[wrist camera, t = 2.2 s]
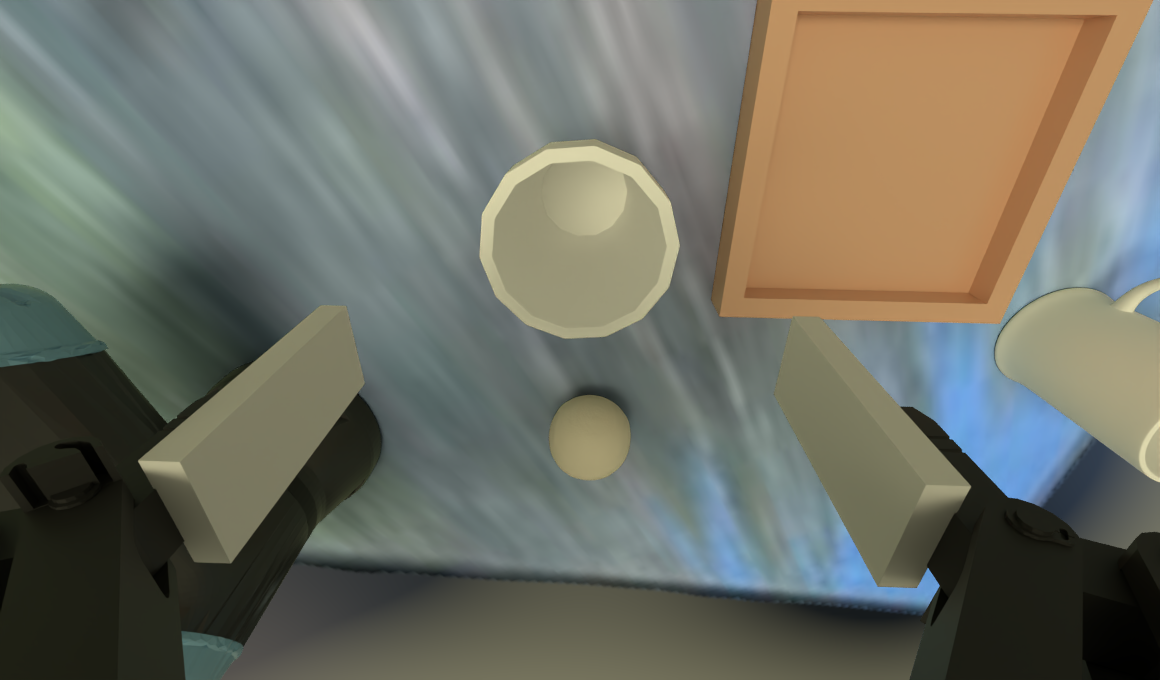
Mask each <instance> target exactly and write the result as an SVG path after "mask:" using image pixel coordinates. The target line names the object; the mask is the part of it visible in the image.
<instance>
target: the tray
mask: <svg viewBox="0 0 1160 680" xmlns="http://www.w3.org/2000/svg"><path fill="white" fill-rule="evenodd" d="M1152 2H1153V0H757V5H756V12H755V18H754V25H753V31H752V38H751V44H750V51H749V57H748V64H747V70H746V76H745V83H744V89H743V96H742V102H741V109H740V115H739V122H738V128H737V135H736V141H735V148H734V154H733V161H732V167H731V174H730V180H729V187H728V193H727V199H726V206H725V212H724V219H723V225H722V232H721V238H720V245H719V251H718V258H717V264H716V271H715V277H714V284H713V290H712V297H711V301H712V303H713V305H714V307H715V309H716V311H717V313H718V315H719V317H753V318H792V317H793V316H805V317H820V318H821V319H833V320H873V321H913V322H953V323H993V324H1000V322H1001V320H1002V318H1003V316H1004V314H1005V312H1006V310H1007V308H1008V305H1009V303H1010V301H1011V299H1012V297H1013V295H1014V293H1015V291H1016V289H1017V286H1018V284H1019V282H1020V280H1021V278H1022V276H1023V274H1024V272H1025V270H1026V268H1027V265H1028V263H1029V261H1030V259H1031V257H1032V255H1033V253H1034V251H1035V249H1036V246H1037V244H1038V242H1039V240H1040V238H1041V236H1042V234H1043V232H1044V230H1045V227H1046V225H1047V223H1048V221H1049V219H1050V217H1051V215H1052V213H1053V211H1054V208H1055V206H1056V204H1057V202H1058V200H1059V198H1060V196H1061V194H1062V192H1063V190H1064V187H1065V185H1066V183H1067V181H1068V179H1069V177H1070V175H1071V173H1072V171H1073V168H1074V166H1075V164H1076V162H1077V160H1078V158H1079V156H1080V154H1081V152H1082V149H1083V147H1084V145H1085V143H1086V141H1087V139H1088V137H1089V135H1090V133H1091V130H1092V128H1093V126H1094V124H1095V122H1096V120H1097V118H1098V116H1099V114H1100V112H1101V109H1102V107H1103V105H1104V103H1105V101H1106V99H1107V97H1108V95H1109V93H1110V90H1111V88H1112V86H1113V84H1114V82H1115V80H1116V78H1117V76H1118V74H1119V71H1120V69H1121V67H1122V65H1123V63H1124V61H1125V59H1126V57H1127V55H1128V53H1129V50H1130V48H1131V46H1132V44H1133V42H1134V40H1135V38H1136V36H1137V34H1138V31H1139V29H1140V27H1141V25H1142V23H1143V21H1144V19H1145V17H1146V15H1147V12H1148V10H1149V8H1150V6H1151V4H1152Z"/></svg>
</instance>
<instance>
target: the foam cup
mask: <svg viewBox="0 0 1160 680" xmlns="http://www.w3.org/2000/svg"><path fill="white" fill-rule="evenodd" d="M679 247H680V244H679V239H678V235H677V230H676V225H675V221H674V216H673V211H672V207H671V202H670V200H669V198H668V197H667V195H666V193H665V191H664V190H663V189H662V187H661V186H660V185H659V184H658V182H657V181H656V180H655V179H654V178H653V176H652V175H651V174H650V173H649V171H648V170H647V169H646V168H645V167H644V165H643V164H642V163H641V162H640V160H639V159H638V158H637V157H636V156H633V155H631V154H629V153H626V152H624V151H622V150H619V149H617V148H615V147H612V146H610V145H608V144H606V143H603V142H601V141H599V140H596V139H590V140H577V141H563V142H550V143H549V144H547V145H546V146H544V147H542V148H541V149H539V150H537V151H536V152H534V153H533V154H531V155H529V156H528V157H526V158H525V159H523V160H521V161H520V162H518V163H517V164H515V165H513V166H512V168H511V169H510V170H509V171H508V172H507V173H506V174H505V176H504V178H503V179H502V181H501V183H500V184H499V186H498V188H497V190H496V191H495V193H494V195H493V196H492V198H491V200H490V201H489V203H488V205H487V207H486V208H485V210H484V212H483V213H482V224H481V242H480V260H481V262H482V265H483V267H484V269H485V272H486V274H487V277H488V279H489V281H490V284H491V286H492V289H493V291H494V293H495V296H496V297H497V298H498V299H499V300H500V301H501V302H502V303H503V304H504V305H505V306H507V307H508V308H509V309H510V310H511V311H512V312H513V313H514V314H515V315H516V316H517V317H518V318H519V319H521V320H522V321H523V322H524V323H525V324H526V325H528V326H531V327H534V328H537V329H539V330H542V331H545V332H548V333H550V334H553V335H556V336H559V337H561V338H564V339H568V338H588V337H606V336H608V335H610V334H612V333H614V332H616V331H618V330H620V329H622V328H624V327H626V326H629V325H631V324H633V323H635V322H637V321H639V320H641V319H643V317H644V316H645V315H646V314H647V313H648V311H649V310H650V309H651V308H652V307H653V306H654V304H655V303H656V302H657V301H658V300H659V298H660V297H661V296H662V295H663V294H664V292H665V291H666V290H667V289H668V288H669V285H670V282H671V278H672V274H673V270H674V266H675V262H676V259H677V255H678V251H679Z"/></svg>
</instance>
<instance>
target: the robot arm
mask: <svg viewBox="0 0 1160 680" xmlns="http://www.w3.org/2000/svg"><path fill="white" fill-rule="evenodd" d="M105 349H108V347H107V345H106V344H105V343H104V342H102V341H98V340H96V339H95V338H94V337H93V336H92V335H91V334H90V333H89V332H88V331H87V330H86V329H85V328H84V327H83V326H82V325H81V324H80V323H79V322H78V321H77V320H76V319H75V318H74V317H73V316H72V315H71V314H70V313H69V312H68V311H67V310H66V309H65V308H64V307H63V306H62V305H61V303H60V302H59V301H57V300H56V299H55V298H54V297H53V296H51V295H49V294H48V293H46V292H44V291H42V290H39V289H37V288H34V287H30V286H26V285H19V284H0V680H220V679H221V678H222V676H223V675H224V673H225V672H226V671H227V669H228V668H229V666H230V665H231V663H232V662H233V661H234V660H236V659H237V658H238V657H239V656H240V655H241V653H242V650H243V647H244V645H245V643H246V642H247V640H248V638H249V637H250V635H251V633H252V632H253V630H254V628H255V626H256V625H257V623H258V621H259V620H260V618H261V616H262V615H263V613H264V611H265V610H266V608H267V606H268V605H269V603H270V601H271V600H272V598H273V596H274V595H275V593H276V591H277V589H278V588H279V586H280V585H281V583H282V581H283V580H284V578H285V576H286V575H287V573H288V571H289V569H290V568H291V566H292V564H293V563H294V561H295V559H296V558H297V556H298V554H299V553H300V551H301V549H302V548H303V546H304V544H305V543H306V541H307V539H308V538H309V536H310V535H311V533H312V531H313V530H314V528H315V527H316V525H317V524H318V523H319V522H320V521H322V520H323V519H324V518H325V517H326V516H327V515H328V514H329V513H330V512H332V511H333V510H334V509H335V508H336V507H337V506H338V505H339V504H340V503H341V502H343V501H344V500H346V499H347V498H349V497H350V496H351V495H353V494H354V493H355V492H357V491H358V490H359V489H360V488H361V487H362V486H363V484H364V483H365V482H366V481H367V479H368V477H369V476H370V474H371V472H372V470H373V468H374V467H375V465H376V463H377V461H378V459H379V456H380V452H381V435H380V430H379V427H378V424H377V422H376V420H375V417H374V416H373V414H372V412H371V411H370V409H369V408H368V406H367V405H366V404H365V402H364V401H363V400H362V399H361V398H360V397H359V396H358V395H357V393H358V392H359V391H360V389H361V388H362V387H363V385H364V384H365V382H364V378H363V374H362V369H361V365H360V361H359V357H358V353H357V349H356V344H355V340H354V336H353V332H352V328H351V324H350V319H349V315H348V311H347V307H346V306H330V305H321V306H319V307H318V308H317V309H316V310H315V311H313V312H312V313H311V314H310V315H309V316H308V317H306V318H305V319H304V320H303V321H302V322H301V323H299V324H298V325H297V326H296V327H295V328H293V329H292V330H291V331H290V332H289V333H288V334H286V335H285V336H284V337H283V338H282V339H281V340H279V341H278V342H277V343H276V344H275V345H273V346H272V347H271V348H270V349H269V350H268V351H266V352H265V353H264V354H263V355H262V356H260V357H259V358H258V359H257V360H256V361H255V362H251V363H248V364H245V365H243V366H240V367H238V368H236V369H235V370H233V371H232V372H230V373H229V374H228V375H227V376H226V377H224V378H223V379H222V380H221V381H220V382H218V383H217V384H216V385H215V386H214V387H213V388H212V389H211V390H210V391H209V392H208V393H207V394H206V396H204V397H203V398H201V399H199V400H197V401H195V402H194V403H192V404H191V405H190V406H189V407H187V408H186V409H185V410H184V411H183V412H181V413H180V414H179V415H178V416H177V419H173V420H172V421H170V422H169V423H168V424H167V422H166V421H165V420H164V419H163V418H162V417H161V416H160V414H159V413H158V412H157V411H156V410H155V409H154V407H153V406H152V405H151V404H150V403H149V401H148V400H147V399H146V398H145V397H144V396H143V394H142V393H141V392H140V391H139V390H138V389H137V387H136V386H135V385H134V384H133V383H132V382H131V380H130V379H129V378H128V377H127V376H126V375H125V373H124V372H123V371H122V370H121V369H120V368H119V366H118V365H117V364H116V363H115V362H114V361H113V359H112V358H111V357H110V356H109V355H108V354H107V352H106V351H105ZM774 396H775V398H776V399H777V401H778V403H779V405H780V407H781V409H782V410H783V412H784V414H785V416H786V418H787V420H788V422H789V423H790V425H791V427H792V429H793V431H794V433H795V434H796V436H797V438H798V440H799V442H800V444H801V446H802V447H803V449H804V451H805V453H806V455H807V457H808V458H809V460H810V462H811V464H812V466H813V468H814V470H815V471H816V473H817V475H818V477H819V479H820V481H821V482H822V484H823V486H824V488H825V490H826V492H827V494H828V495H829V497H830V499H831V501H832V503H833V505H834V507H835V508H836V510H837V512H838V514H839V516H840V518H841V519H842V521H843V523H844V525H845V527H846V529H847V531H848V532H849V534H850V536H851V538H852V540H853V542H854V543H855V545H856V547H857V549H858V551H859V553H860V555H861V556H862V558H863V560H864V562H865V564H866V566H867V567H868V569H869V571H870V573H871V575H872V577H873V579H874V580H875V582H876V584H877V586H878V587H903V588H917V587H918V585H919V583H920V581H921V579H922V577H923V576H924V574H925V572H926V570H927V568H929V570H930V571H931V573H932V574H933V576H934V577H935V579H936V580H937V582H938V583H939V585H940V587H939V588H938V590H937V592H936V594H935V595H934V597H933V599H932V601H931V602H930V604H929V606H928V608H927V609H926V611H925V613H924V615H923V616H922V618H921V620H920V621H921V622H923V623H924V624H926V625H925V628H924V632H923V635H922V639H921V642H920V646H919V649H918V652H917V656H916V659H915V663H914V666H913V670H912V673H911V676H910V680H1160V533H1158V532H1148V533H1141V534H1140V535H1139V536H1138V537H1137V538H1136V539H1135V540H1134V541H1133V543H1132V544H1131V545H1130V546H1129V547H1128V549H1127V550H1126V549H1122V548H1117V547H1114V546H1110V545H1106V544H1101V543H1098V542H1093V541H1090V540H1086V539H1082V538H1079V537H1078V535H1077V534H1076V533H1075V532H1074V531H1073V530H1072V528H1071V527H1070V526H1069V525H1068V524H1066V523H1065V522H1064V521H1062V520H1061V519H1060V518H1058V517H1057V516H1055V515H1054V514H1053V513H1051V512H1049V511H1047V510H1045V509H1043V508H1041V507H1039V506H1037V505H1035V504H1032V503H1029V502H1026V501H1023V500H1019V499H1015V498H1008V497H1007V496H1006V495H1005V494H1004V493H1003V492H1002V491H1001V490H1000V489H999V488H998V487H997V486H996V485H995V484H994V482H993V481H992V480H991V479H990V478H989V477H988V476H987V475H986V474H985V473H984V472H983V471H982V470H981V469H980V468H979V467H978V466H977V465H976V464H975V463H974V462H973V461H972V460H971V458H970V457H969V456H968V455H967V454H966V453H962V449H961V448H960V447H959V446H958V445H957V444H956V443H955V442H954V441H953V440H950V439H949V436H948V434H947V433H946V432H945V431H944V430H943V429H942V428H941V427H940V426H939V425H938V424H937V423H936V422H935V421H934V420H932V419H931V418H929V417H928V416H926V415H924V414H923V413H921V412H920V411H918V410H917V409H915V408H913V407H900V406H899V405H898V404H897V403H896V402H895V401H894V400H893V398H892V397H891V396H890V395H889V394H888V393H887V392H886V391H885V390H884V388H883V387H882V386H881V385H880V384H879V383H878V382H877V381H876V379H875V378H874V377H873V376H872V375H871V374H870V373H869V372H868V371H867V369H866V368H865V367H864V366H863V365H862V364H861V363H860V362H859V361H858V359H857V358H856V357H855V356H854V355H853V354H852V353H851V352H850V350H849V349H848V348H847V347H846V346H845V345H844V344H843V343H842V342H841V340H840V339H839V338H838V337H837V336H836V335H835V334H834V333H833V331H832V330H831V329H830V328H829V327H828V326H827V325H826V324H825V323H824V321H823V320H822V319H821V318H820V317H805V316H793V317H792V321H791V325H790V330H789V334H788V338H787V342H786V346H785V350H784V354H783V358H782V363H781V367H780V371H779V375H778V379H777V383H776V387H775V391H774Z"/></svg>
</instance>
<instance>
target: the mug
mask: <svg viewBox="0 0 1160 680" xmlns="http://www.w3.org/2000/svg"><path fill="white" fill-rule="evenodd" d="M1158 290H1160V278H1158V279H1154V280H1151V281H1148V282H1145V283H1143V284H1141V285H1138V286H1136V287H1135V288H1133V289H1131V290H1130V291H1128V292H1127V293H1125V294H1124V295H1122V296H1121V297H1120V298H1119V299H1117V300H1116V301H1113V300H1112V299H1111V298H1110V297H1109V296H1107V295H1106V294H1104V293H1102V292H1100V291H1097V290H1094V289H1089V288H1069V289H1064V290H1059V291H1056V292H1053V293H1050V294H1047V295H1045V296H1043V297H1040V298H1038V299H1037V300H1035V301H1033V302H1031V303H1030V304H1028V305H1027V306H1025V307H1024V308H1023V309H1021V310H1020V311H1019V312H1018V313H1017V314H1015V315H1014V316H1013V317H1012V318H1011V320H1010V321H1009V322H1008V323H1007V324H1006V326H1005V327H1004V328H1003V330H1002V332H1001V333H1000V335H999V337H998V340H997V343H996V346H995V361H996V364H997V366H998V368H999V370H1000V371H1001V372H1002V373H1003V374H1004V375H1005V376H1006V377H1008V378H1009V379H1011V380H1013V381H1016V382H1018V383H1020V384H1022V385H1024V386H1025V387H1027V388H1028V389H1029V390H1031V391H1032V392H1034V393H1035V394H1036V395H1038V396H1039V397H1041V398H1042V399H1043V400H1045V401H1046V402H1047V403H1049V404H1050V405H1051V406H1053V407H1054V408H1055V409H1057V410H1058V411H1060V412H1061V413H1062V414H1064V415H1065V416H1066V417H1068V418H1069V419H1070V420H1072V421H1073V422H1074V423H1076V424H1077V425H1079V426H1080V427H1081V428H1083V429H1084V430H1085V431H1087V432H1088V433H1089V434H1091V435H1092V436H1093V437H1095V438H1096V439H1097V440H1099V441H1100V442H1102V443H1103V444H1104V445H1106V446H1107V447H1109V448H1110V449H1111V450H1113V451H1114V452H1115V453H1116V454H1118V455H1119V456H1121V457H1122V458H1123V459H1125V460H1126V461H1127V462H1129V463H1130V464H1131V465H1133V466H1134V467H1136V468H1137V469H1138V470H1140V471H1141V472H1142V473H1144V474H1145V475H1147V476H1148V477H1150V478H1151V479H1153V480H1155V481H1158V482H1160V322H1157V321H1155V320H1153V319H1151V318H1149V317H1146V316H1144V315H1142V314H1140V313H1137V312H1135V311H1134V310H1135V308H1136V307H1137V305H1138V304H1139V303H1140V302H1141V301H1142V300H1143V299H1144V298H1146V297H1147V296H1149V295H1150V294H1152V293H1154V292H1156V291H1158Z"/></svg>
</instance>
